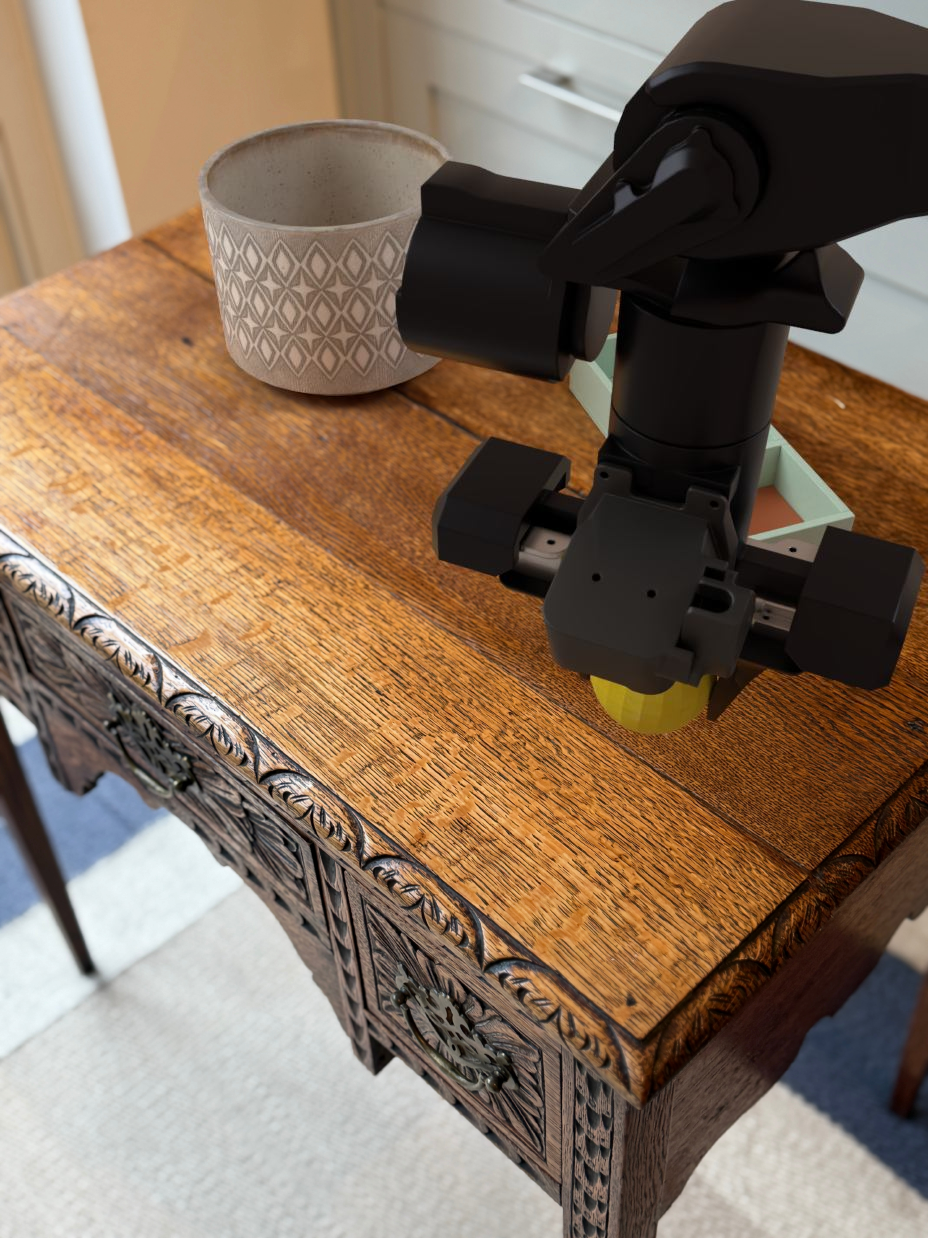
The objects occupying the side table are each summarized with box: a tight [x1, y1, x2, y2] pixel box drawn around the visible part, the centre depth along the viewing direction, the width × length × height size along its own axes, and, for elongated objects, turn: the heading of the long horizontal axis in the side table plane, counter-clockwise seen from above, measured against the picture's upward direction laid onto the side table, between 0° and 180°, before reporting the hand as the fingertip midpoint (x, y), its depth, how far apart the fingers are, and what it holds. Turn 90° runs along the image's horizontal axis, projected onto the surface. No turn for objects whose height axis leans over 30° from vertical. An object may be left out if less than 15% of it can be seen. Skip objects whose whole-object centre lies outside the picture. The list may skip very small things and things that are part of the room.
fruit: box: [590, 674, 718, 736], centre depth 52 cm, size 6×6×8 cm
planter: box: [197, 118, 455, 397], centre depth 90 cm, size 19×19×14 cm
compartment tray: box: [568, 332, 856, 545], centre depth 82 cm, size 25×9×4 cm, turn 19°
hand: (649, 693), depth 53 cm, fingers closed on fruit, 5 cm apart
